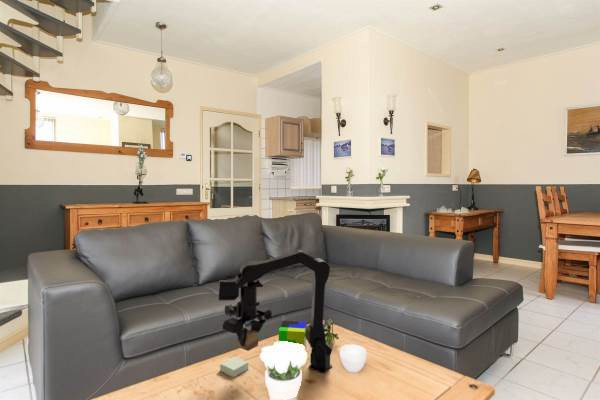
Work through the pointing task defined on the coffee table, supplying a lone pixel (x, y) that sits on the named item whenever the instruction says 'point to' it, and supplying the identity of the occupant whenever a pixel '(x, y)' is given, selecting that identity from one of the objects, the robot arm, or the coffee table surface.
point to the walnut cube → (250, 340)
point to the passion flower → (329, 335)
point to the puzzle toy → (293, 332)
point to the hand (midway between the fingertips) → (247, 343)
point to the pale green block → (234, 366)
